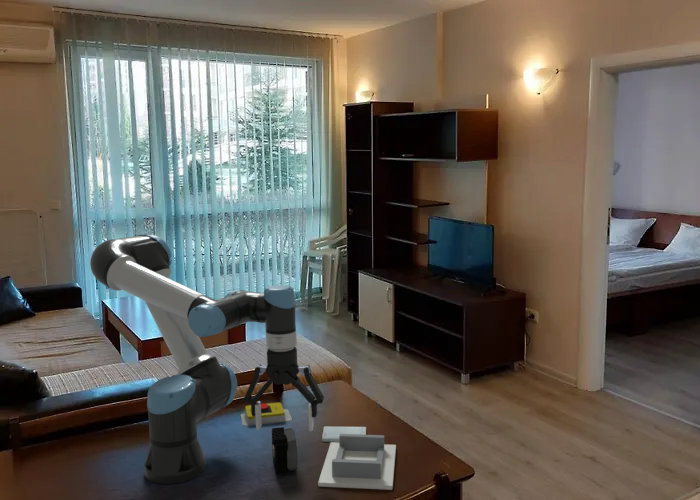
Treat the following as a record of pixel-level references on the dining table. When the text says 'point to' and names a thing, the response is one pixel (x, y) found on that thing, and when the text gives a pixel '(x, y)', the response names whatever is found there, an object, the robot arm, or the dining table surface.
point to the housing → (359, 463)
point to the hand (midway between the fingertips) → (284, 428)
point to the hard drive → (340, 432)
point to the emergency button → (266, 414)
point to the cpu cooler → (284, 450)
